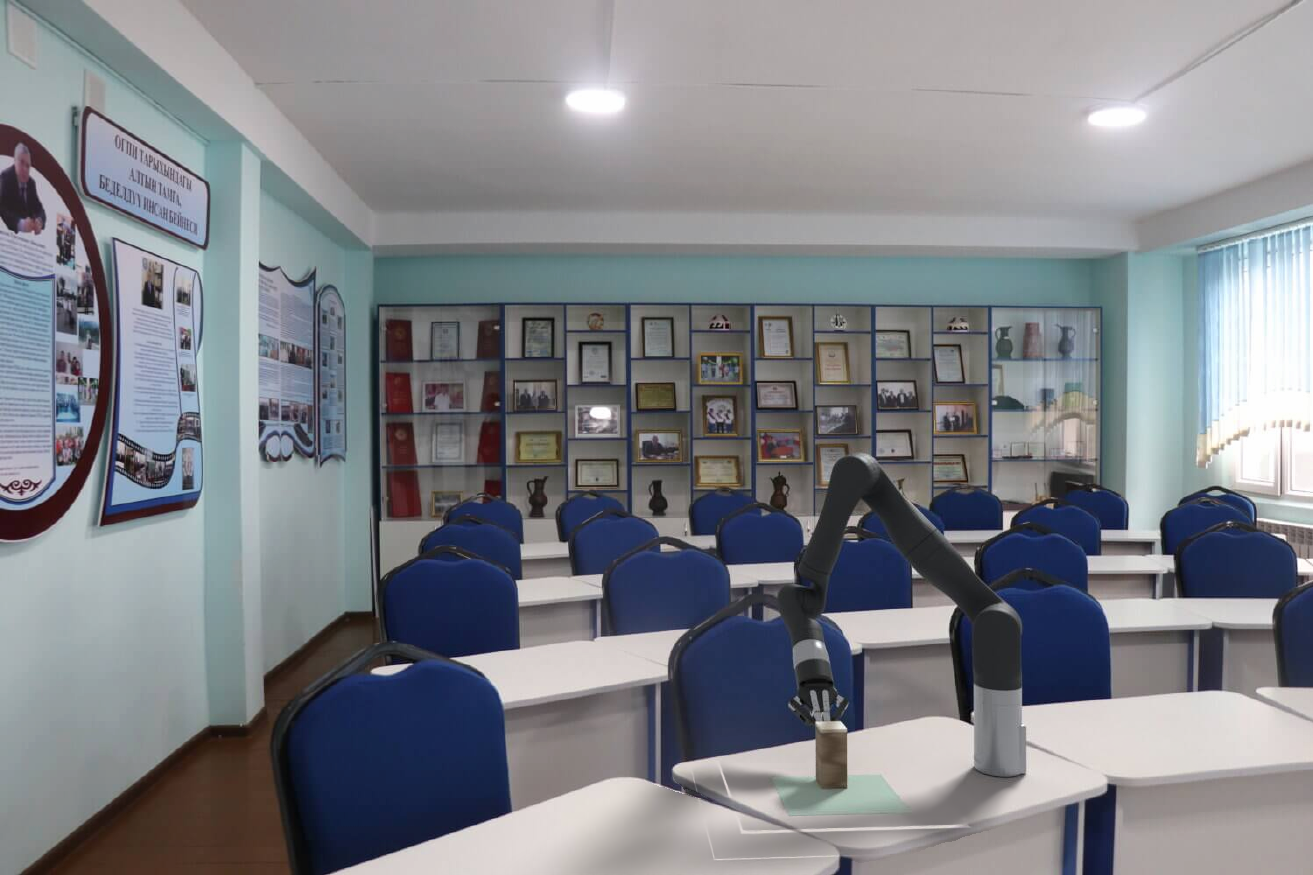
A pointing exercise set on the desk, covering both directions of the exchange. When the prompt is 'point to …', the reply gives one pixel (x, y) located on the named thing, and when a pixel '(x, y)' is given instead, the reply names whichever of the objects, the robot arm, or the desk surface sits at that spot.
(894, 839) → the desk surface
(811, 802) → the sage mat
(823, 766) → the walnut block
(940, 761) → the desk surface
